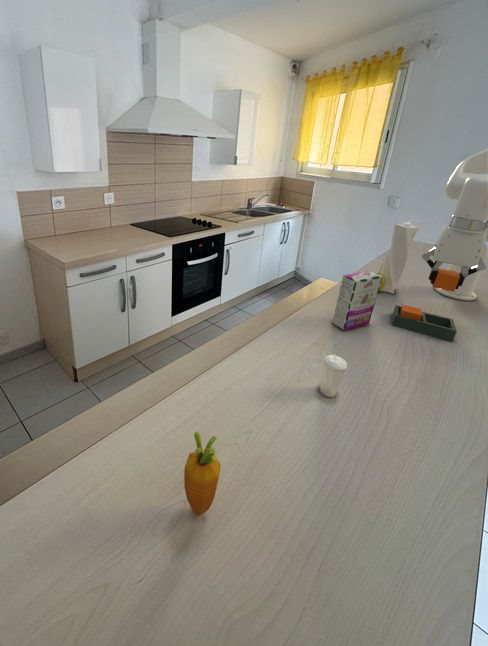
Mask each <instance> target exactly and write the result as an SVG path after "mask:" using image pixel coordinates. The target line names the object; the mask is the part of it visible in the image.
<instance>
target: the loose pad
mask: <svg viewBox="0 0 488 646" xmlns="http://www.w3.org/2000/svg"><path fill="white" fill-rule="evenodd" d="M459 279H460V277H459V274H458V272H455V271H450V270H447V269H444V268H440V267H439V268H438V274H437V277H436V279H435V282H434V284H431V285H432V288H434V289H435V288H439V289H443V290H448V291H453V292H454V291H455V288H456V286H457V283H458V281H459Z"/></svg>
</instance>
